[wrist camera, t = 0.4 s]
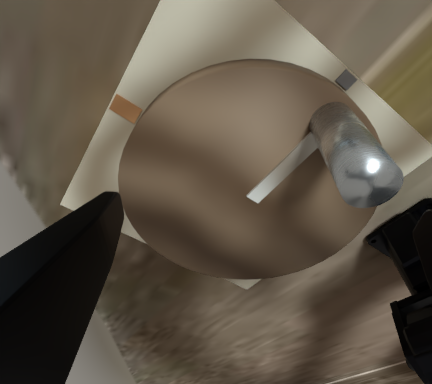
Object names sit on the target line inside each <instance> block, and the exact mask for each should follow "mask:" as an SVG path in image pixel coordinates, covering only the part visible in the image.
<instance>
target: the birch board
mask: <svg viewBox="0 0 432 384" xmlns="http://www.w3.org/2000/svg"><path fill="white" fill-rule="evenodd" d="M241 59H272V60H277V61H283V62H289V63H293V64H296V65H299V66H302V67H305V68H308V69H310V70H312V71H314V72H316V73H318V74H320V75H322V76H324V77H326V78H328V79H329V80H330V81H332V82H333V83H334V84H336V85H337V86H338V87H340V88H341V89H342V90H343V91H344V92H345V93H346V94H347V95H348V96H349V97H350V98H351V99H352V100H353V101H354V102H355V103H356V105H357V106H358V107H359V108H360V109H361V110H362V111H363V112H364V114H365V115H366V116H367V118H368V119H369V121H370V122H371V124H372V125H373V127H374V128H375V130H376V132H377V134H378V137H379V139H380V141H381V144H382V147H383V148H384V149H385V151H386V152H387V153H388V154H389V155H390V157H391V158H392V159H393V160H394V162H395V163H396V164H397V165H398V166H399V168H400V169H401V170H402V173H403V177H404V176H406V175H407V174H408V173H410V172H411V171H412V170H414V169H415V168H417V167H418V166H419V165H421V164H422V163H424V162H425V161H426V160H428V159H429V158H430V157H432V145H431V144H430V143H429V142H428V141H427V140H426V139H425V138H424V137H423V136H422V135H420V134H419V133H418V132H417V131H416V130H415V129H414V128H413V127H412V126H411V125H410V124H408V123H407V122H406V121H405V120H404V119H403V118H402V117H401V116H400V115H399V114H398V113H397V112H395V111H394V110H393V109H392V108H391V107H390V106H389V105H388V104H387V103H386V102H385V101H383V100H382V99H381V98H380V97H379V96H378V95H377V94H376V93H375V92H374V91H373V90H371V89H370V88H369V87H368V86H367V85H366V84H365V83H364V82H363V81H362V80H361V79H359V78H358V77H357V76H356V75H355V74H354V73H353V72H352V71H351V70H350V69H349V68H347V67H346V66H345V65H344V64H343V63H342V62H341V61H340V60H339V59H338V58H337V57H336V56H334V55H333V54H332V53H331V52H330V51H329V50H328V49H327V48H326V47H325V46H324V45H322V44H321V43H320V42H319V41H318V40H317V39H316V38H315V37H314V36H313V35H312V34H310V33H309V32H308V31H307V30H306V29H305V28H304V27H303V26H302V25H301V24H300V23H298V22H297V21H296V20H295V19H294V18H293V17H292V16H291V15H290V14H289V13H288V12H287V11H285V10H284V9H283V8H282V7H281V6H280V5H279V4H278V3H277V2H276V1H275V0H160V2H159V5H158V7H157V9H156V11H155V13H154V15H153V17H152V19H151V21H150V23H149V25H148V27H147V29H146V31H145V33H144V35H143V37H142V39H141V41H140V43H139V45H138V47H137V49H136V51H135V53H134V55H133V57H132V59H131V61H130V63H129V65H128V68H127V70H126V72H125V74H124V76H123V78H122V80H121V82H120V84H119V86H118V88H117V90H116V92H115V94H114V96H113V98H112V100H111V102H110V104H109V106H108V108H107V110H106V112H105V114H104V116H103V118H102V120H101V122H100V124H99V126H98V129H97V131H96V133H95V135H94V137H93V139H92V141H91V143H90V145H89V147H88V149H87V151H86V153H85V155H84V157H83V159H82V161H81V163H80V165H79V167H78V169H77V171H76V173H75V175H74V177H73V179H72V181H71V183H70V185H69V187H68V189H67V192H66V194H65V196H64V198H63V200H62V202H61V204H60V205H63V206H65V207H67V208H69V209H71V210H73V211H74V210H76V209H77V208H79V207H81V206H82V205H84V204H85V203H87V202H88V201H90V200H92V199H93V198H95V197H96V196H98V195H99V194H101V193H103V192H105V191H114V192H118V193H119V188H118V171H119V163H120V159H121V156H122V152H123V149H124V146H125V144H126V142H127V140H128V138H129V136H130V134H131V132H132V130H133V129H134V127H135V125H136V123H137V121H138V120H139V118H140V117H141V115H142V114H143V112H144V111H145V110H146V108H147V107H148V106H149V104H150V103H151V102H152V101H153V100H154V99H155V98H156V97H157V96H158V95H159V94H160V93H161V92H163V91H164V90H165V89H166V88H168V87H169V86H170V85H172V84H173V83H174V82H176V81H178V80H179V79H181V78H183V77H185V76H186V75H188V74H190V73H192V72H195V71H197V70H200V69H202V68H205V67H207V66H210V65H214V64H218V63H222V62H226V61H232V60H241ZM121 232H122V233H124V234H126V235H128V236H130V237H133V238H135V239H137V240H139V241H141V242H144V243H146V242H145V241H144V240H143V239H142V238H141V237H140V236H139V234H138V233H137V232H136V230H135V229H134V228H133V226H132V225H131V223H130V221H129V219H128V218H127V216H126V214H125V211H124V221H123V225H122V229H121ZM146 244H147V243H146ZM222 279H225V280H227V281H229V282H231V283H233V284H236V285H238V286H240V287H242V288H244V289H249V288H250V287H252V286H253V285H254V284H256V283H257V282H259V281H260V280H261V279H250V280H241V279H227V278H222Z"/></svg>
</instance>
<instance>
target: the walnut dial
mask: <svg viewBox="0 0 432 384" xmlns="http://www.w3.org/2000/svg"><path fill="white" fill-rule="evenodd" d="M402 184H403V173H402V170H401V169H400V168H399V166H398V165H397V164H396V163H395V162H394V160H393V159H392V158H391V157H390V155H389V154H388V153H387V152H386V151H385V149H384V148H383V147H382V144H381V141H380V139H379V137H378V134H377V132H376V130H375V128H374V127H373V125H372V124H371V122H370V121H369V119H368V118H367V116H366V115H365V114H364V112H363V111H362V110H361V109H360V108H359V107H358V106H357V105H356V103H355V102H354V101H353V100H352V99H351V98H350V97H349V96H348V95H347V94H346V93H345V92H344V91H343V90H342V89H341V88H340V87H338V86H337V85H336V84H334V83H333V82H332V81H330V80H329V79H328V78H326V77H324V76H322V75H320V74H318V73H316V72H314V71H312V70H310V69H308V68H305V67H302V66H299V65H296V64H293V63H289V62H283V61H277V60H272V59H241V60H232V61H226V62H222V63H218V64H214V65H210V66H207V67H205V68H202V69H200V70H197V71H195V72H192V73H190V74H188V75H186V76H185V77H183V78H181V79H179V80H178V81H176V82H174V83H173V84H172V85H170V86H169V87H168V88H166V89H165V90H164V91H163V92H161V93H160V94H159V95H158V96H157V97H156V98H155V99H154V100H153V101H152V102H151V103H150V104H149V106H148V107H147V108H146V110H145V111H144V112H143V114H142V115H141V117H140V118H139V120H138V121H137V123H136V125H135V127H134V129H133V130H132V132H131V134H130V136H129V138H128V140H127V142H126V144H125V146H124V149H123V152H122V156H121V159H120V163H119V171H118V188H119V194H120V196H121V200H122V205H123V209H124V211H125V214H126V216H127V218H128V219H129V221H130V223H131V225H132V226H133V228H134V229H135V230H136V232H137V233H138V234H139V236H140V237H141V238H142V239H143V240H144V241H145V242H146V243H147V244H148V245H149V246H150V247H151V248H153V249H154V250H155V251H156V252H158V253H159V254H160V255H162V256H164V257H165V258H167V259H168V260H170V261H172V262H174V263H176V264H178V265H180V266H182V267H184V268H187V269H189V270H192V271H195V272H198V273H201V274H205V275H209V276H214V277H219V278H227V279H241V280H250V279H265V278H273V277H278V276H283V275H287V274H291V273H294V272H298V271H300V270H303V269H306V268H309V267H311V266H313V265H315V264H317V263H320V262H322V261H324V260H325V259H327V258H329V257H330V256H332V255H334V254H335V253H337V252H338V251H339V250H341V249H342V248H343V247H345V246H346V245H347V244H348V243H349V242H351V241H352V240H353V239H354V238H355V237H356V236H357V235H358V234H359V233H360V231H361V230H362V229H363V228H364V227H365V226H366V224H367V223H368V221H369V220H370V218H371V217H372V215H373V214H374V211H375V209H376V207H377V206H378V205H381V204H383V203H385V202H387V201H388V200H390V199H391V198H392V197H394V196H395V195H396V194H397V192H398V191H399V190H400V188H401V186H402Z"/></svg>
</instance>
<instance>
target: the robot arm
mask: <svg viewBox="0 0 432 384" xmlns="http://www.w3.org/2000/svg"><path fill="white" fill-rule="evenodd" d="M123 221H124V209H123V205H122V200H121V196H120V194H119V193H118V192H114V191H105V192H103V193H101V194H99V195H98V196H96V197H95V198H93V199H92V200H90V201H88V202H87V203H85V204H84V205H82V206H81V207H79V208H77V209H76V210H74V211H73V212H71V213H70V214H68V215H66V216H65V217H63V218H62V219H60V220H59V221H57V222H55V223H54V224H52V225H51V226H49V227H48V228H46V229H44V230H43V231H41V232H40V233H38V234H37V235H35V236H33V237H32V238H30V239H29V240H27V241H25V242H24V243H22V244H21V245H19V246H18V247H16V248H14V249H13V250H11V251H10V252H8V253H7V254H5V255H4V256H2V257H0V384H65V382H66V380H67V377H68V375H69V372H70V370H71V367H72V364H73V362H74V359H75V357H76V355H77V352H78V350H79V347H80V344H81V342H82V339H83V337H84V334H85V332H86V329H87V327H88V324H89V322H90V319H91V316H92V314H93V311H94V309H95V307H96V304H97V301H98V299H99V296H100V294H101V291H102V289H103V286H104V284H105V281H106V279H107V276H108V274H109V271H110V268H111V266H112V263H113V259H114V256H115V252H116V248H117V244H118V240H119V237H120V233H121V229H122V225H123ZM367 242H368V244H369V245H371V246H373V247H374V248H376V249H377V250H379V251H380V252H382V253H384V254H385V255H387V256H388V257H390V258H391V259H392V260H393V262H394V264H395V266H396V267H397V269H398V271H399V273H400V275H401V277H402V278H403V280H404V282H405V284H406V286H407V288H408V289H409V291H410V293H411V295H412V296H409V297H407V298H405V299H402V300H400V301H398V302H397V301H394V302H392V303H390V306H391V309H392V316H393V319H394V323H395V326H396V329H397V333H398V336H399V339H400V343H401V346H402V349H403V353H404V355H405V358H406V363H407V365H408V367H409V368H410V369H412V370H413V371H415V372H416V373H417V374H418V376H419V377H420V379H421V380H422V381H423V382H424V384H432V198H427V199H425V200H423V201H422V202H420V203H419V204H417V205H416V206H414V207H413V208H411V209H409V210H408V211H406V212H405V213H403V214H402V215H400V216H399V217H397V218H396V219H394V220H393V221H391V222H389V223H388V224H386V225H385V226H383V227H382V228H380V229H379V230H377V231H376V232H374V233H373V234H371V235H369V236H368V237H367Z"/></svg>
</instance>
